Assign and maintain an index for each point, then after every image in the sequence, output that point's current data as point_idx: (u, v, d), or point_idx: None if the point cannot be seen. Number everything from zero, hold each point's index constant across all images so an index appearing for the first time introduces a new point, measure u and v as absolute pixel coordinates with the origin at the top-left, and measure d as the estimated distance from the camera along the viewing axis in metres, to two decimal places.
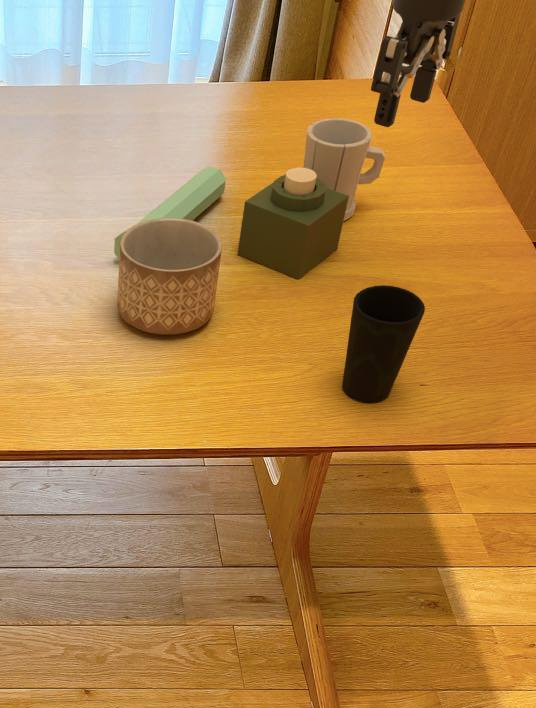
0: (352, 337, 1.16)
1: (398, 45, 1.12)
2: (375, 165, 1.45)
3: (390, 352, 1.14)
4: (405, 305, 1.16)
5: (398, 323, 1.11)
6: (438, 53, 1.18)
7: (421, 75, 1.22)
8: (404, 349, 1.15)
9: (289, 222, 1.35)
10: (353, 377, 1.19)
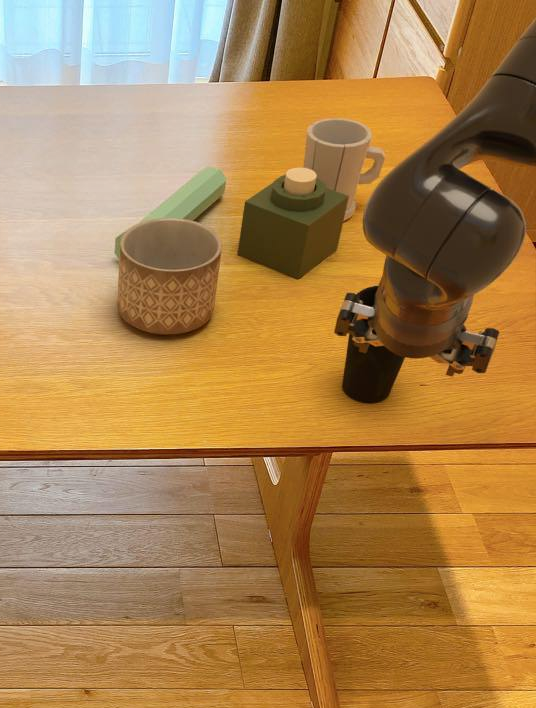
0: (352, 337, 1.16)
1: (497, 336, 0.90)
2: (375, 165, 1.45)
3: (390, 352, 1.14)
4: None
5: None
6: None
7: None
8: None
9: (289, 222, 1.35)
10: (353, 377, 1.19)
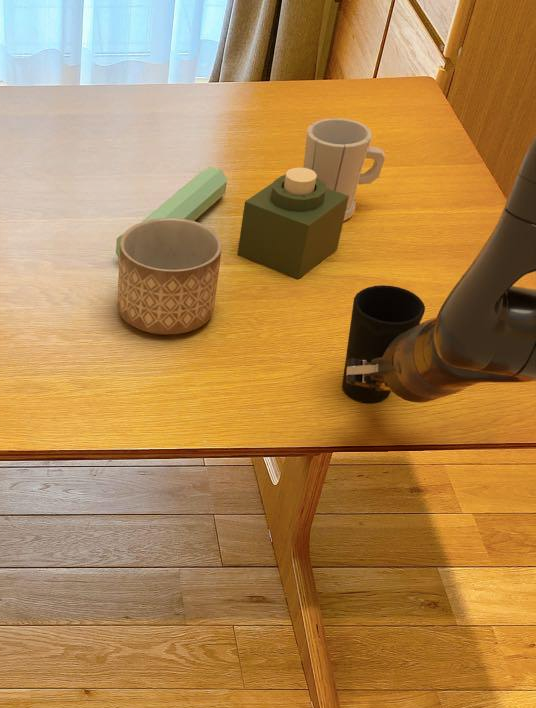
0: (352, 337, 1.16)
1: None
2: (375, 165, 1.45)
3: None
4: (405, 305, 1.16)
5: (398, 323, 1.11)
6: None
7: None
8: None
9: (289, 222, 1.35)
10: None
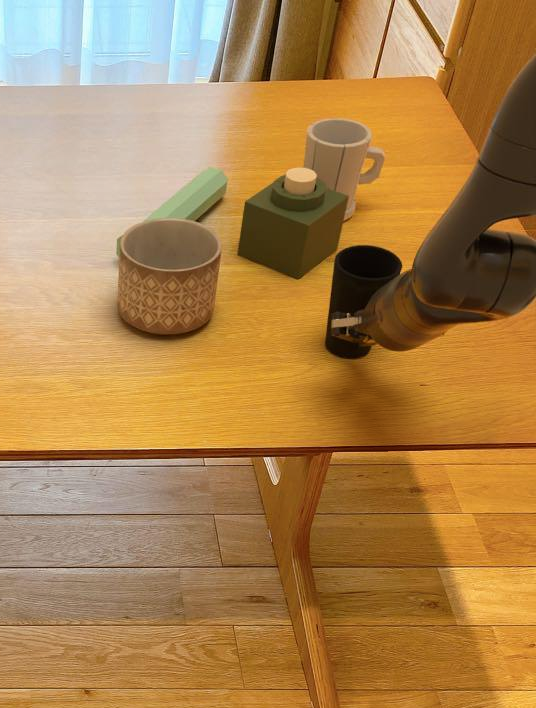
0: (335, 296, 1.22)
1: None
2: (375, 165, 1.45)
3: None
4: (381, 262, 1.22)
5: (380, 278, 1.17)
6: None
7: None
8: None
9: (289, 222, 1.35)
10: None
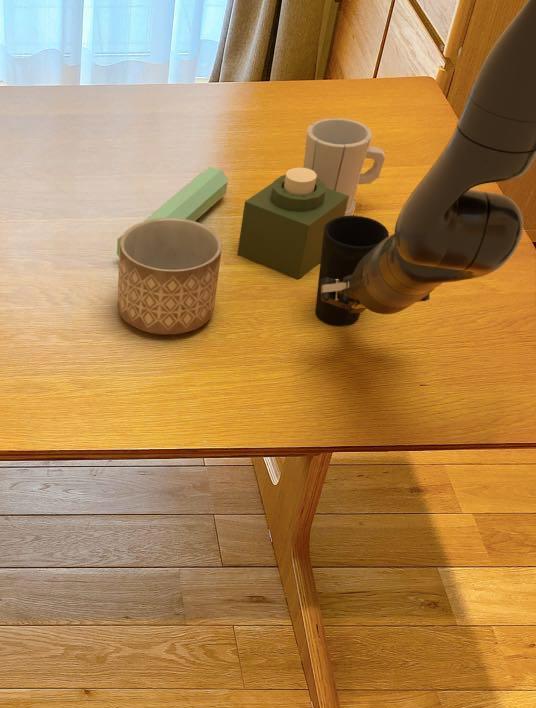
0: (325, 265, 1.27)
1: None
2: (375, 165, 1.45)
3: None
4: (369, 232, 1.27)
5: (368, 246, 1.22)
6: None
7: None
8: None
9: (289, 222, 1.35)
10: (327, 303, 1.30)
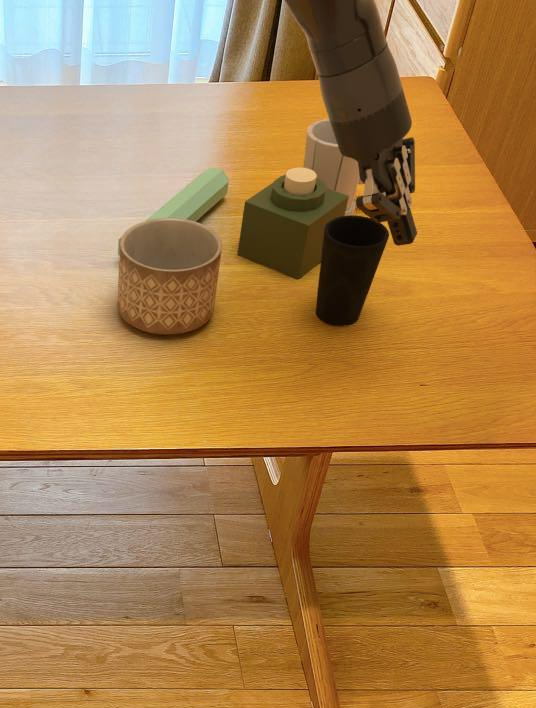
0: (325, 265, 1.27)
1: (374, 203, 1.07)
2: None
3: (361, 275, 1.25)
4: (369, 232, 1.27)
5: (368, 246, 1.22)
6: (405, 177, 1.10)
7: None
8: (373, 271, 1.26)
9: (289, 222, 1.35)
10: (327, 303, 1.30)
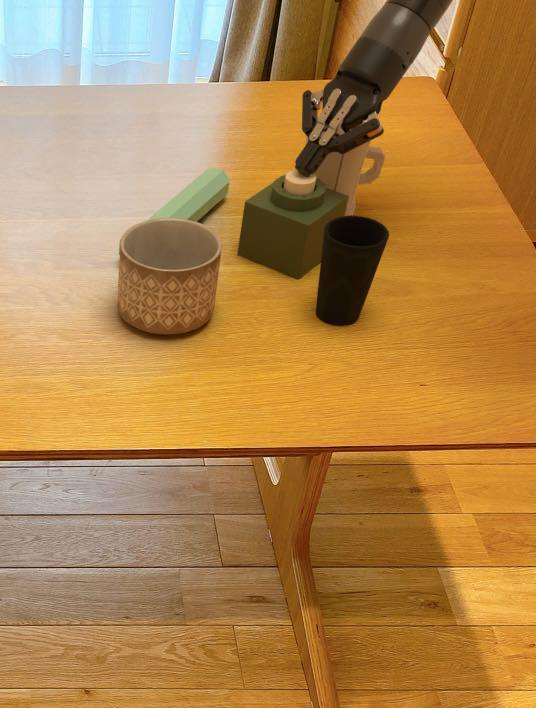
0: (325, 265, 1.27)
1: None
2: (375, 165, 1.45)
3: (361, 275, 1.25)
4: (369, 232, 1.27)
5: (368, 246, 1.22)
6: (334, 116, 1.32)
7: None
8: (373, 271, 1.26)
9: (289, 222, 1.35)
10: (327, 303, 1.30)
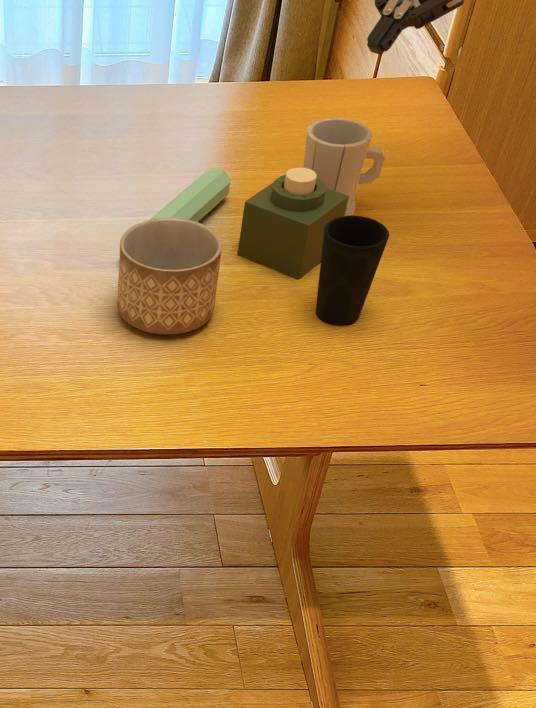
0: (325, 265, 1.27)
1: None
2: (375, 165, 1.45)
3: (361, 275, 1.25)
4: (369, 232, 1.27)
5: (368, 246, 1.22)
6: None
7: None
8: (373, 271, 1.26)
9: (289, 222, 1.35)
10: (327, 303, 1.30)
